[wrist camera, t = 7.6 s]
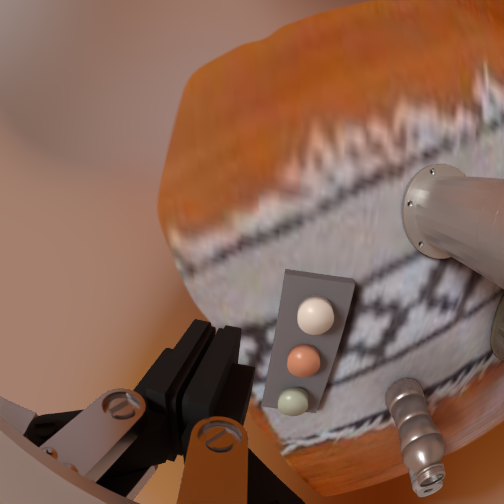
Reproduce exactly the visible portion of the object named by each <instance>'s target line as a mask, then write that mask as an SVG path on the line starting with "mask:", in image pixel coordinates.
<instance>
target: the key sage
mask: <svg viewBox="0 0 504 504" xmlns="http://www.w3.org/2000/svg"><path fill="white" fill-rule="evenodd" d="M307 408H308V394H307V393H306V391H304V390H303V389H301V388H297V387H290V388H286V389H284V390H283V391H281V393H280V394H279V400H278V409H279V411H280V412H281V413H283V414H285V415H288V416H297V415H300V414H303V413H304V412H305V411H306V410H307Z"/></svg>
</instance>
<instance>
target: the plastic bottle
mask: <svg viewBox="0 0 504 504" xmlns="http://www.w3.org/2000/svg"><path fill="white" fill-rule="evenodd" d="M385 403H386V406H387V408H388V410H389V412H390V413H391V415H392V417H393V419H394V421H395V424H396V426H397V429H398V433H399V438H400V446H401V457H402V462H403V463H404V464H405V466H406V467H407V468H409V469H410V470H412V471H414V472H416V473H417V474H416V479H417V480H418V485H419V487H421V488H424V487H428V486H431V485H434V484H436V483H437V482H439V481H441V480H442V479H443V478H444V477H445V471H444V465H443V463H441V460H442V458H443V455H444V452H445V448H446V443H445V439H444V438H443V436H442V434H441V433H440V431H439V430H438V428H437V427H436V425H435V424H434V422H433V420H432V418H431V416H430V414H429V412H428V409H427V406H426V402H425V399H424V393H423V389H422V387H421V386H420V385H419V383H418V382H417V381H416V380H413V379H409V378H404V379H400V380H398V381H396V382H394V383H393V384H392V385H391V386H390V387H389V388H388V390H387V392H386V395H385Z"/></svg>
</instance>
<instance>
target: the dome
mask: <svg viewBox="0 0 504 504" xmlns="http://www.w3.org/2000/svg"><path fill="white" fill-rule="evenodd" d="M490 341H491V348H492V351H493V353H494V354H495V356H496V357H498V358H499V359H501V360H503V361H504V295H503V297H502V299H501V301H500V303H499V306H498V308H497V311H496V314H495V318H494V321H493V325H492V330H491V340H490Z"/></svg>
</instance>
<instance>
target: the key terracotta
mask: <svg viewBox="0 0 504 504" xmlns="http://www.w3.org/2000/svg"><path fill="white" fill-rule="evenodd" d="M287 368H288V370H289V372H290V373H291V374H293V375H294V376H297V377H309V376H312V375H313V374H315V373H316V372H317V371H318V370H319V368H320V355H319V351H318V350H317V348H316V347H314V346H313V345H310V344H298V345H296V346H294V347H293V348H292V349H291V350H290V351H289V353H288V361H287Z"/></svg>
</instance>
